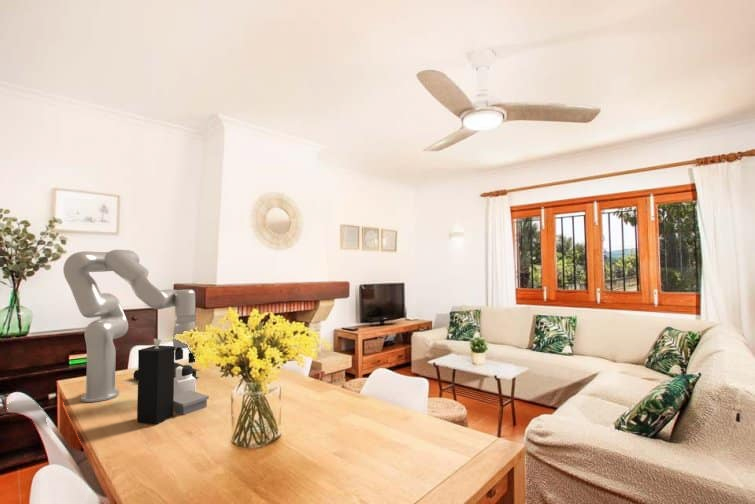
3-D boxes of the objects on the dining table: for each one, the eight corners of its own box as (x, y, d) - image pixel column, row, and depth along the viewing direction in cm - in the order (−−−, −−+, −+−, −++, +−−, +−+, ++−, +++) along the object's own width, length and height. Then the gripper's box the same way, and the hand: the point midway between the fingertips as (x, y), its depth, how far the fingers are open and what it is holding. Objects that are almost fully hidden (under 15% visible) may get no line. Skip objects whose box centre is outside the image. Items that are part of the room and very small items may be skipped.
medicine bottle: (189, 391, 159) (190, 362, 159) (195, 395, 154) (196, 366, 154) (171, 395, 154) (171, 366, 154) (176, 399, 149) (177, 369, 149)
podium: (164, 408, 140) (164, 398, 140) (190, 400, 148) (190, 390, 148) (183, 415, 133) (183, 404, 133) (208, 406, 142) (208, 396, 142)
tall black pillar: (156, 425, 125) (158, 341, 126) (136, 423, 127) (138, 340, 128) (173, 416, 133) (175, 337, 134) (154, 414, 135) (156, 336, 136)
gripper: (164, 319, 157) (165, 360, 156) (188, 321, 147) (189, 365, 147) (182, 317, 163) (182, 356, 162) (206, 319, 154) (206, 361, 153)
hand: (185, 360), depth 155 cm, fingers open, 9 cm apart
